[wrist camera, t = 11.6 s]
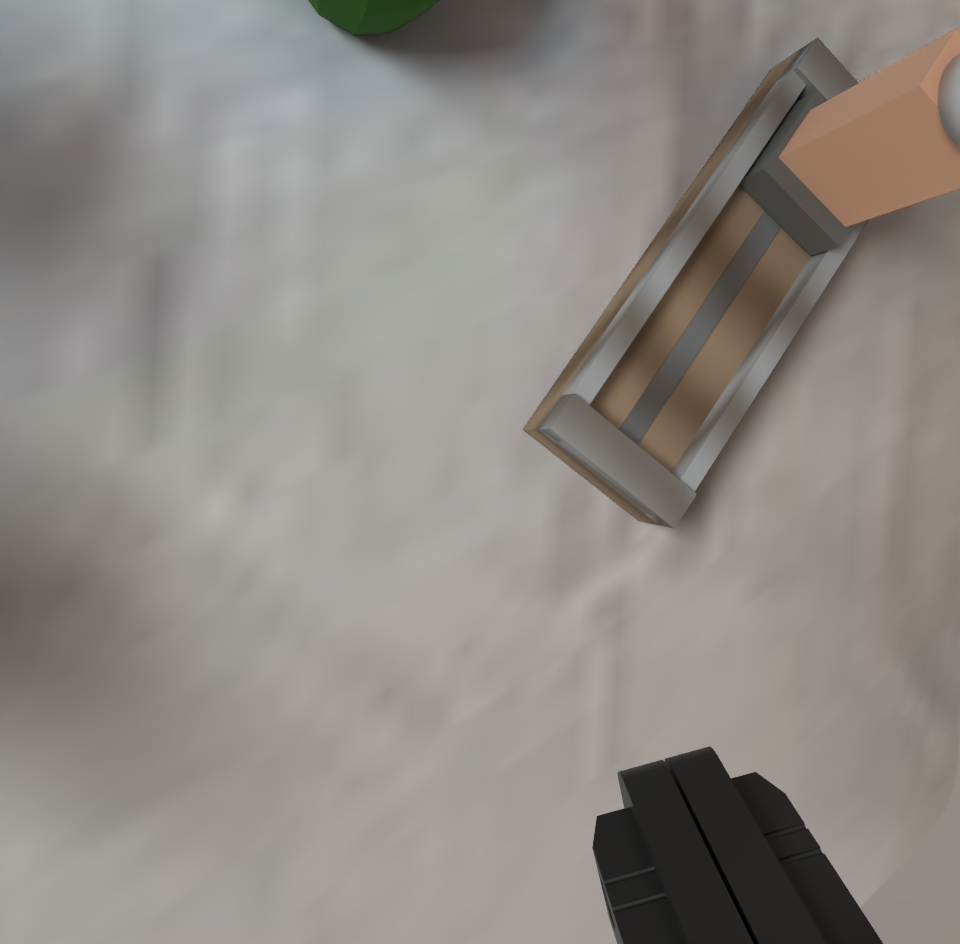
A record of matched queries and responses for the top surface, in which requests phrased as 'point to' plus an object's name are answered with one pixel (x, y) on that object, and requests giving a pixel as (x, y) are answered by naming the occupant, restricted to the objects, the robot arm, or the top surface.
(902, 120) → the slider tab
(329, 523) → the top surface
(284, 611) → the top surface
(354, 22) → the bell pepper
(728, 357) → the fader track
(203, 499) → the top surface
